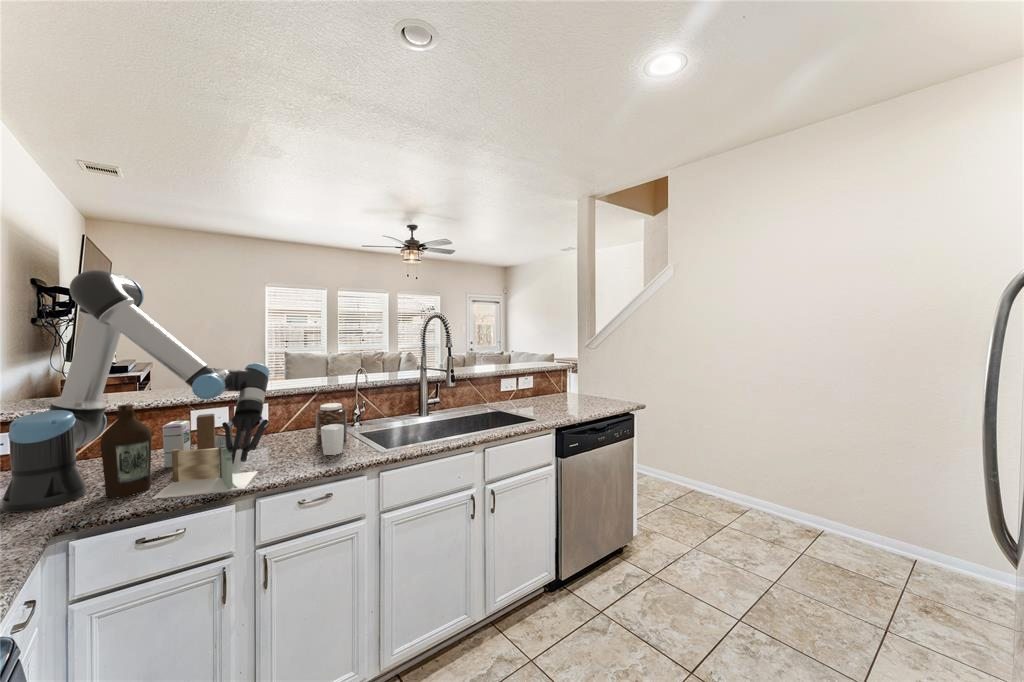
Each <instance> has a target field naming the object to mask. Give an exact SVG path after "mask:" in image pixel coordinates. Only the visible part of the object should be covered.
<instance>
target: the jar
mask: <svg viewBox="0 0 1024 682" xmlns="http://www.w3.org/2000/svg"><path fill="white" fill-rule="evenodd" d="M331 424H341V425H344V440H343V443H345V442H346V441H347V440H348V435H347V433H348V432H347V431H348V429H347V428H348V427H347V426H348V423H347V409H346V408H344V407H343V404H342V403H339V402H329V403H324V404H321V405H320V408H319V409H318V410H316V413H315V438H316V440H315V441H316V444H317V445H319V444H320V446H322V439H321V427H323V426H326V425H331Z"/></svg>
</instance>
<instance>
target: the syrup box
mask: <svg viewBox="0 0 1024 682" xmlns="http://www.w3.org/2000/svg"><path fill="white" fill-rule="evenodd" d="M191 436H192V435H191V421H190V420H176V421H170V422H168V423H166V424H164V425H162V445H163V447H162V448H163V460H164V461H163V463H164V464H163V465H164V468H172V450H174V449H180V451H186V450H192V437H191Z"/></svg>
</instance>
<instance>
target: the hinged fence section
mask: <svg viewBox="0 0 1024 682" xmlns="http://www.w3.org/2000/svg"><path fill="white" fill-rule="evenodd" d="M232 469H233V462H232V456H231V454H230V453H229V451H228V450H227V448H226V447H225V448H221V470H222V479H223V480H224V482H225V484H226V486H227V488H233V480H232V474H233V470H232Z"/></svg>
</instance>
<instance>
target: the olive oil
mask: <svg viewBox="0 0 1024 682" xmlns="http://www.w3.org/2000/svg"><path fill="white" fill-rule="evenodd" d="M133 407H134V404H132V403H129V404H128V403H126V404H120V405H118V406H117V419H116V421H114V422H113V424H111V425H110V426H109V427H108V428H107V429H106V430H104V431H103V432H102V434H101V435H102V436H101V439H100V451H101V458H102V469H103V478H104V492H105V497H106V496H107V497H106V498H108V497H111V498H110V499H118V498H117V497H122V498H125V497H124V496H128V497H130V496H129V495H132V496H134V495H133V494H136V495H138V494H137V493H139V494H141V493H140V492H142V493H144V492H146V491H148V490H149V489H151V485H152V484H151V480H152V479H151V472H152V471H151V470H152V469H151V468H152V466H151V465H152V462H151V461H152V437H153V436H152V432H151V430H150V428H149V427H148V425H146V424H145V423H142V422H141V421H140V420H139V419H137V418H136V417H135V409H134V408H133ZM143 491H144V492H143Z"/></svg>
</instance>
